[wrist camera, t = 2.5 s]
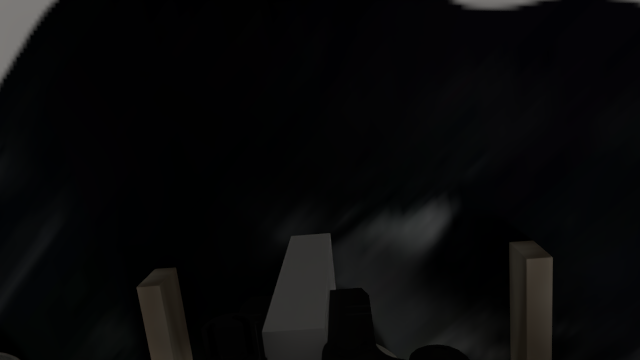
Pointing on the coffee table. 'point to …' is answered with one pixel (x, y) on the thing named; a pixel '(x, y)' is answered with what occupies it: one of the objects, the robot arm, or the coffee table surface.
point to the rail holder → (525, 307)
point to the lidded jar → (7, 356)
